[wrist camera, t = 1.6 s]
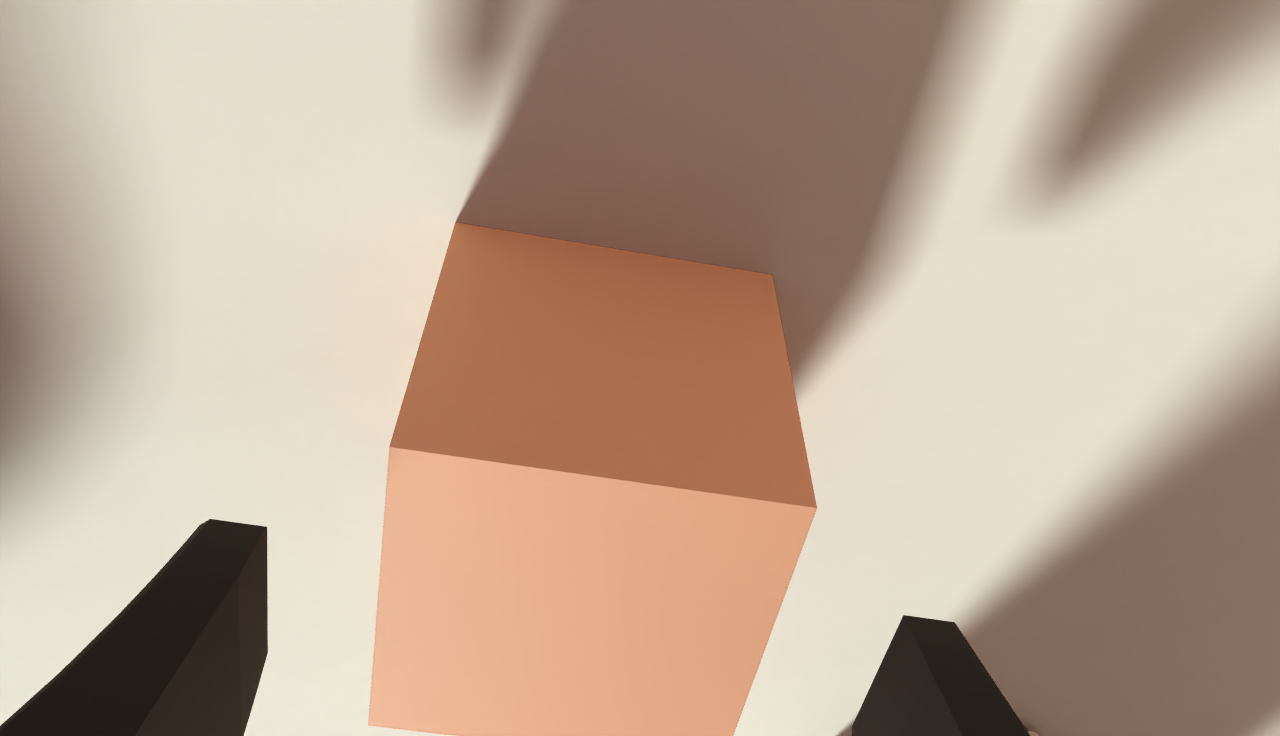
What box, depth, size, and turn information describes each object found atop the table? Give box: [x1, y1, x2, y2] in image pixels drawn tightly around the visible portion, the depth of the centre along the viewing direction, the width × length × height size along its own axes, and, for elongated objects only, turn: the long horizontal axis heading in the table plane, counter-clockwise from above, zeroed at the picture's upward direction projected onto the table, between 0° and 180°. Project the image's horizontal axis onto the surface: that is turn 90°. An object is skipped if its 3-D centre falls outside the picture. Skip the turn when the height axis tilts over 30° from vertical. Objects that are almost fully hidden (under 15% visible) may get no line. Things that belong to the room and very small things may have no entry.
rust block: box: [368, 222, 817, 736], centre depth 15 cm, size 4×4×5 cm
